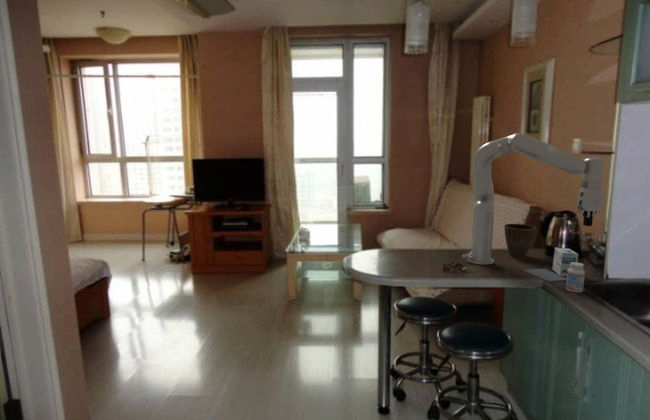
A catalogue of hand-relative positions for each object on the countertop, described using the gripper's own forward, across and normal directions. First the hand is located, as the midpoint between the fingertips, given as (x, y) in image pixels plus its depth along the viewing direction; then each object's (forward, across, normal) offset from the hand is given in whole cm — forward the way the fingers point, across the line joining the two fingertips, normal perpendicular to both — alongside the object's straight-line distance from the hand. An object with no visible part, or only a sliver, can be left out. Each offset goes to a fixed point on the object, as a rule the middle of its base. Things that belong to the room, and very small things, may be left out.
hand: (587, 225), depth 187 cm
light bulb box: (+22, -10, 0) cm, 24 cm away
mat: (+22, -20, 0) cm, 30 cm away
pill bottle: (+22, -23, -19) cm, 37 cm away
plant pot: (+22, -11, +31) cm, 39 cm away
